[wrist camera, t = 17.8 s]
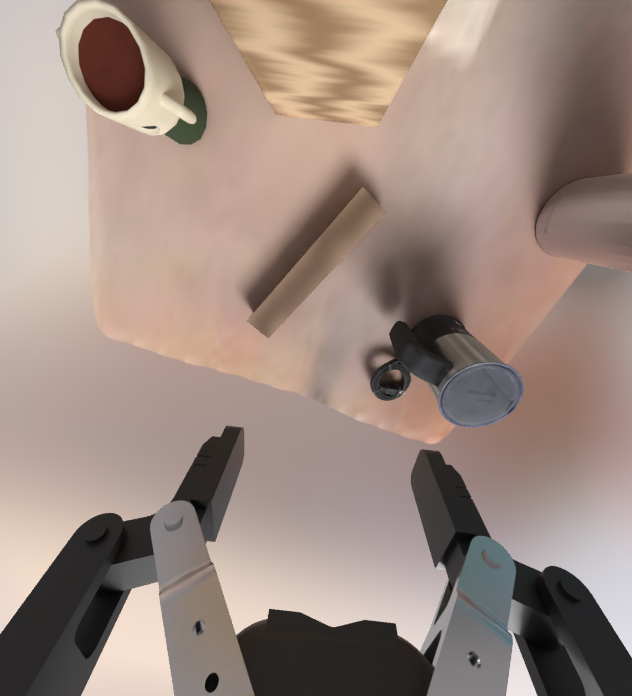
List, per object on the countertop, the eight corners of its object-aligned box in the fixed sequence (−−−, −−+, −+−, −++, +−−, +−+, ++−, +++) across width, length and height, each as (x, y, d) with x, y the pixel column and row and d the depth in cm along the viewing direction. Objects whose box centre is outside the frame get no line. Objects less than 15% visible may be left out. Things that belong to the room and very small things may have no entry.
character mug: (131, 119, 34) (27, 71, 22) (146, 47, 31) (34, -50, 19) (216, 170, 36) (160, 151, 24) (237, 108, 33) (185, 52, 21)
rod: (380, 212, 37) (386, 212, 34) (273, 328, 45) (268, 338, 42) (360, 188, 36) (363, 186, 33) (253, 311, 44) (246, 320, 41)
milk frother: (476, 318, 43) (540, 367, 30) (442, 401, 50) (483, 471, 37) (383, 306, 43) (407, 350, 29) (363, 391, 50) (375, 457, 36)
